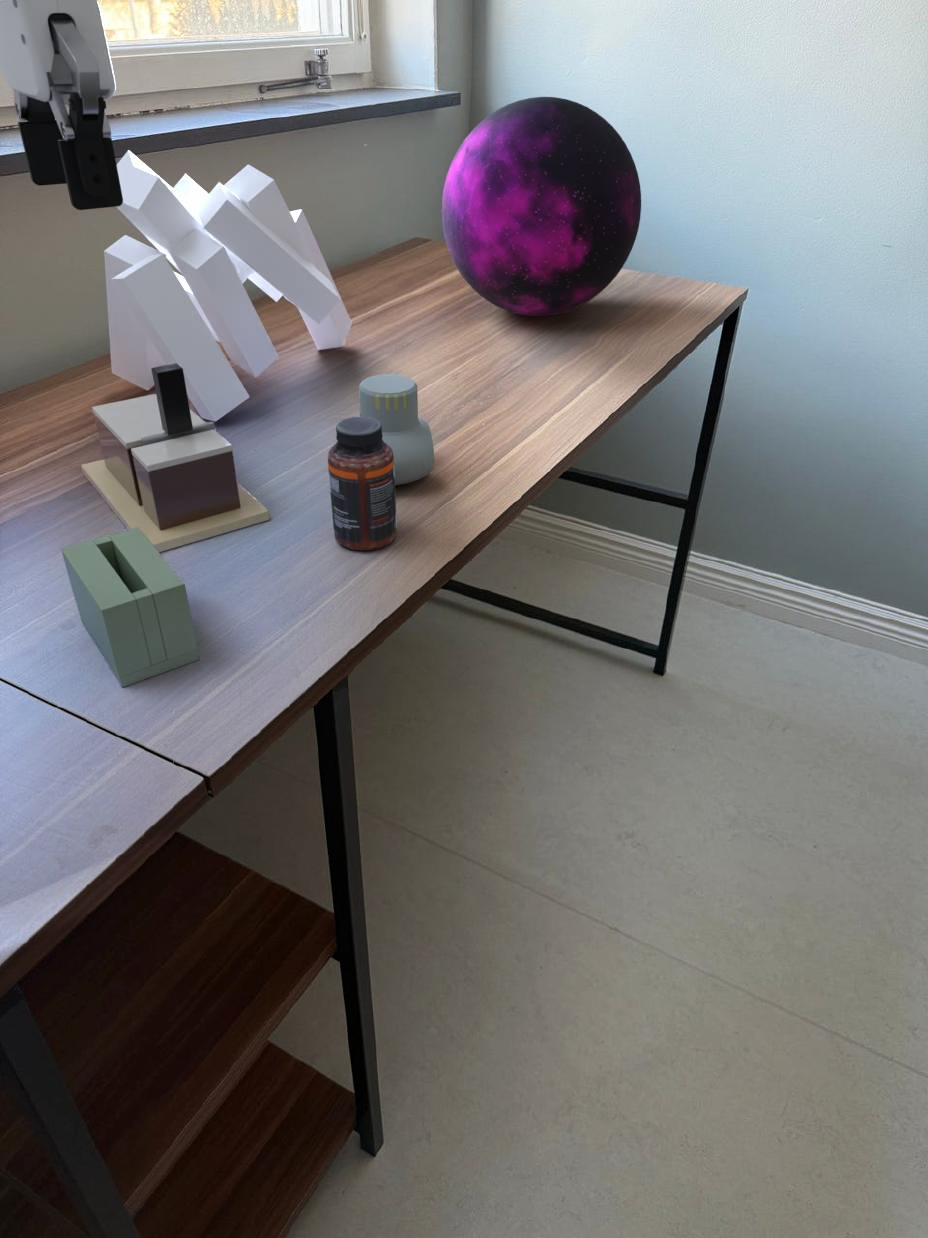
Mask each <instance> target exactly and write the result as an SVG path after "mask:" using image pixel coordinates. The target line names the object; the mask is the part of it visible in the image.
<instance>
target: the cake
mask: <svg viewBox="0 0 928 1238" xmlns="http://www.w3.org/2000/svg"><path fill="white" fill-rule="evenodd" d="M91 410H92V415H93V419H94V423H95V427H96V432H97V436H98V440H99V443H100V448H101V452H102V456H103V459H100V460H95V461H92V462H87V463H82V464H80V467H81V472H82V474H83V475H84V477H85V478H86V479H87V480H88V482H89V483H90V484H91V485H92V487H93V488H94V489H95V491H96V492H97V493H98V495H100V496H101V498H102V499H103V500H104V502H105V503H106V504H107V505H108V507H109V508H110V509H111V511H112V512H113V513H114V514H115V515H116V516H117V518H118V519H119V520H120V522H122V524H123V525H124V526H125V528H126V530H129V529H132V528H136V527H138V528H139V529H140V530H141V531H142V532H143V534H144V535H145V536H146V537H147V538H148V540H149V541H150V542H151V543H152V545H153V546H154V547H155V548H156V549H157V551H158V552H159V553H162V552H165V551H168V550H172V549H176V548H179V547H182V546H185V545H189V544H192V543H196V542H199V541H202V540H206V539H209V538H213V537H216V536H219V535H222V534H226V533H230V532H233V531H237V530H240V529H243V528H247V527H250V526H253V525H257V524H260V523H263V522H266V521H270V520H271V517H270V510H268V509H267V508H266V507H265V506H264V505H263V504H262V503H261V502H260V501H259V500H257V499H256V498H255V496H254V495H252V494H251V493H250V492H249V491H247V490H246V488H245V487H243V486H242V485H241V484H240V483H239V482H238V479H237V472H236V465H235V458H234V452H233V451H234V450H233V449H234V448H233V444H231V443H230V442H229V441H228V440H227V439H226V438H224V437H223V436H222V435H221V434H220V433H219V432H218V431H216V429H215V430H214V429H213V430H209V431H204V432H200V433H196V434H192V435H187V436H183V437H179V438H175V439H170V440H166V441H162V442H157V443H153V444H149V445H145V446H142V441H141V438H143V437H147V436H151V435H156V434H160V433H164V432H165V431H164V430H163V428H162V422H161V417H160V412H159V407H158V401H157V396H156V393H153V394H147V395H144V396H139V397H134V398H129V399H124V400H118V401H114V402H109V403H105V404H104V403H103V404H99V405H95V406H91ZM190 414H191V420H192V426H195V425H199V424H204V423H207V422H206V421H204V419H203V418H202V417H201V416H200V415H199V414H197V413H196V412H194V411H193V410H192V409H191V408H190Z"/></svg>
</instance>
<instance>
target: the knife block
mask: <svg viewBox="0 0 928 1238" xmlns="http://www.w3.org/2000/svg"><path fill="white" fill-rule="evenodd" d="M60 551H61V555H62V558H63V562H64V565H65V569H66V572H67V576H68V579H69V583H70V586H71V590H72V593H73V597H74V600H75V604H76V607H77V610H78V613H79V614H78V615H79V617H80V621H81V623H82V625H83V627H84V628H85V630H86V631H87V633H88V634H89V636H90V638H91V639H92V642H93V643H94V644H95V646H96V648H97V649H98V651H99V653H100V655H101V656H102V657H103V659H104V660H105V662H106V664H107V666H108V667H109V669H110V671H111V672H112V674H113V675H114V677H115V678H116V681H117V682H118V683H119V684H120V687H122V688H125V687H128V686H130V685H133V684H136V683H139V682H141V681H144V680H146V679H147V680H148V679H149V678H152V677H156V676H158V675H160V674H164V673H166V672H168V671H171V670H174V669H178V668H180V667H183V666H186V665H189V664H192V663H193V662H196V661H200V653H199V649H198V643H197V638H196V633H195V629H194V623H193V617H192V613H191V608H190V603H189V597H188V592H187V588H186V583H185V582H184V581H183V580H182V579H181V577H180V576H179V575H178V573H176V571H175V570H174V569H173V567H171V565H170V564H169V563H168V561H167V560H166V559H165V557H163V555H162V554H161V552H158V551H157V549H156V548H155V547H154V546H153V545H152V543H151V542H150V541H149V540H148V538H147V537H146V536H145V535H144V534H143V532H142V531H141V530H140V529H139V528H138V527H136V528H132V529H129V530H128V529H126V530H125V529H124V530H121V531H118V532H115V533H111V534H108V535H103V536H99V537H97V538H93V539H89V540H85V541H82V542H78V543H75V544H70V545H68V546H64V547H61V548H60Z"/></svg>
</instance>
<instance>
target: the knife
mask: <svg viewBox="0 0 928 1238" xmlns="http://www.w3.org/2000/svg"><path fill="white" fill-rule="evenodd" d="M151 370H152V375H153V380H154V386H153V387H154V390H155V394H156V396H157V401H158V407H159V412H160V417H161V422H162V428H163V430H164V431H165V432H164V433H160V434H156V435H151V436H147V437H143V438H141V441H142V446H145V445H149V444H153V443H157V442H162V441H166V440H170V439H175V438H179V437H183V436H187V435H192V434H196V433H200V432H204V431H209V430H213V429H214V430H215V431H216V427H215V421H209V422H206V423H204V424H199V425H195V426H192V420H191V414H190V409H191V408H190V402H189V397H188V396H187V390H186V384H185V378H184V373H183V368H182V367H181V366H179V365H178V364H177V363H175V364H169V365H167V364H166V365H164V366H159V367H154V368H151Z"/></svg>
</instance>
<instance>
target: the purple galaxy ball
mask: <svg viewBox="0 0 928 1238" xmlns="http://www.w3.org/2000/svg"><path fill="white" fill-rule="evenodd" d="M441 198H442V199H441V223H442V230H443V235H444V239H445V244H446V246H447V250H448V253H449V255H450V257H451V259H452V262H453V264H454V266H455V267H456V269H457V270H458V272H459V274H460V275H461V277H462V278H463V279H464V280H465V282H466V283H467V284H468V285H469V286H470V287H471V289H473V291H475V292H476V293H477V294H478V295H479V296H480V297H482V298H483V299H484V300H486V301H487V302H488V303H490V304H492V305H493V306H495V307H498V308H499V309H502V310H505V311H507V312H510V313H513V314H517V315H522V316H530V317H546V316H547V317H548V316H555V315H559V314H562V313H565V312H569V311H572V310H574V309H577V308H579V307H581V306H583V305H585V304H586V303H588V302H590V301H591V300H593V299H594V298H595V297H597V296H598V295H600V293H602V292H603V291H604V290H605V289H607V287H608V286H609V285H610V284H611V283H612V282H613V281H614V279H616V277H617V276H618V274H619V273H620V272H621V270H622V269H623V267H624V265H626V262H627V260H628V259H629V256H630V254H631V253H632V250H633V248H634V245H635V242H636V240H637V235H638V232H639V227H640V224H641V223H640V222H641V216H642V215H641V214H642V189H641V182H640V177H639V172H638V170H637V166H636V163H635V160H634V158H633V156H632V154H631V151H630V150H629V148H628V146H627V144H626V142H625V141H624V139H623V138H622V136H621V135H620V134H619V132H618V131H617V130H616V128H614V127H613V125H612V124H611V123H610V122H608V121H607V119H605V118H604V117H603V116H601V114H599V113H598V112H596V111H595V110H593V109H591V108H590V107H588V106H586V105H584V104H581V103H579V102H578V101H577V102H576V101H574V100H570V99H568V98H567V99H566V98H561V97H557V96H535V97H528V98H524V99H519V100H517V101H514V102H511V103H509V104H506V105H504V106H502V107H500V108H498V109H496V110H495V111H493V112H492V113H490V114H489V115H488V116H486V117H484V118H483V119H482V120H481V121H480V122H479V123H478V124H477V125H476V126H475V127H474V128H473V129H472V130H471V131H470V132H469V133H468V135H467V136H466V137H465V139H464V140H463V141H462V143H461V144H460V146H459V147H458V149H457V150H456V153H455V154H454V156H453V159H452V161H451V163H450V165H449V168H448V170H447V173H446V177H445V181H444V185H443V191H442V197H441Z"/></svg>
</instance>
